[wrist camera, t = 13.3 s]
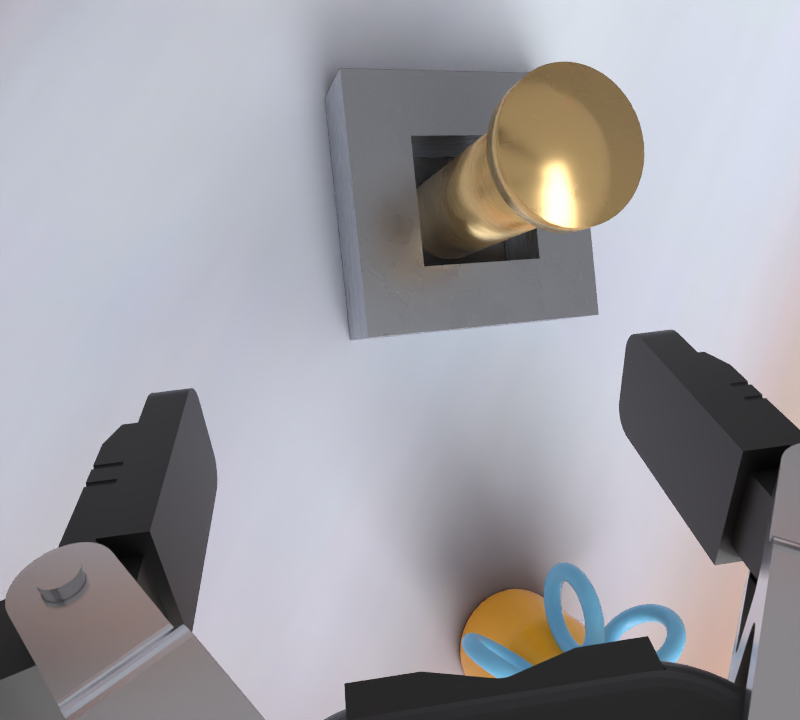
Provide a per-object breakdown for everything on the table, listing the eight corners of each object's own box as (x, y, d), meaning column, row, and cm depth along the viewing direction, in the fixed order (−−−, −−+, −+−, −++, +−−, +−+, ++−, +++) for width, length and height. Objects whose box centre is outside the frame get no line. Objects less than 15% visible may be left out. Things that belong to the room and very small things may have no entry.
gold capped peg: (389, 162, 34) (490, 59, 22) (493, 160, 35) (636, 63, 24) (401, 276, 34) (507, 231, 22) (503, 268, 36) (651, 224, 24)
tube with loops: (599, 734, 37) (853, 965, 23) (424, 778, 34) (591, 1078, 20) (589, 517, 37) (837, 613, 23) (412, 541, 34) (571, 671, 20)
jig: (325, 98, 33) (339, 68, 29) (540, 100, 36) (575, 74, 33) (350, 340, 33) (368, 337, 30) (561, 319, 37) (598, 314, 33)
